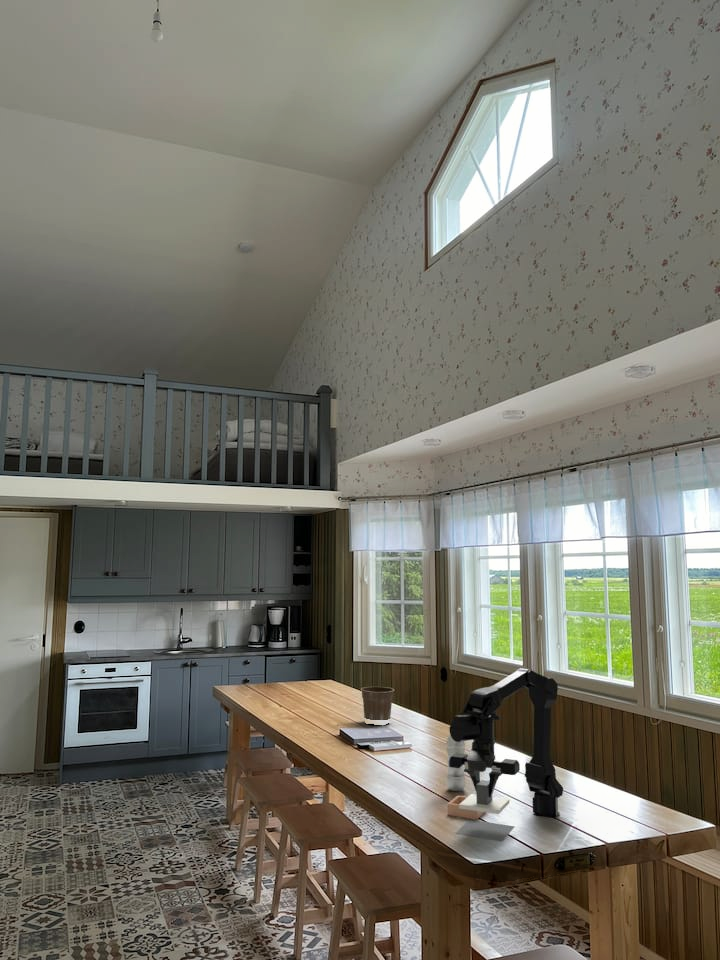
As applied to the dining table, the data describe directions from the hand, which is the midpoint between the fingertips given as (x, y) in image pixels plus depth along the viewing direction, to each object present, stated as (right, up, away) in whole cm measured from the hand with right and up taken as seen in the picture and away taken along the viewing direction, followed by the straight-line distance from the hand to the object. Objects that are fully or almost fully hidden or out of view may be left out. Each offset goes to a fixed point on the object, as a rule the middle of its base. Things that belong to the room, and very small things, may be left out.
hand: (484, 796), depth 200 cm
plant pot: (-26, -29, +146) cm, 151 cm away
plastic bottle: (-3, -15, +38) cm, 41 cm away
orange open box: (-3, -12, +13) cm, 18 cm away
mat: (0, -9, -1) cm, 9 cm away
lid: (0, -2, 0) cm, 2 cm away
